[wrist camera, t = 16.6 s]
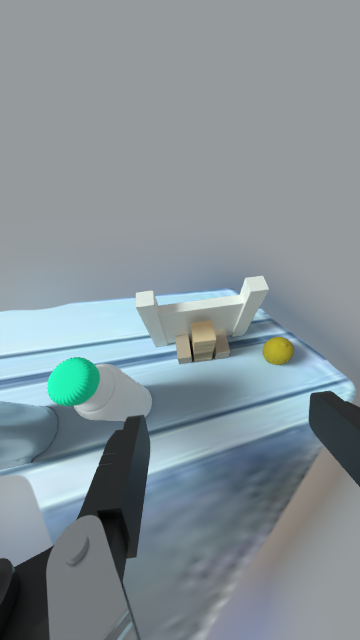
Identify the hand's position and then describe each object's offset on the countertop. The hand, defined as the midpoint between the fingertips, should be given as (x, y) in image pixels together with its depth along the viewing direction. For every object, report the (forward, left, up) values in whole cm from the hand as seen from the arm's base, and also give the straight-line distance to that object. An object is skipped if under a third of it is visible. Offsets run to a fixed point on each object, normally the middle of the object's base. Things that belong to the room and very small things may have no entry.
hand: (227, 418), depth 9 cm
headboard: (+16, +6, -33) cm, 37 cm away
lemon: (+19, -10, -33) cm, 39 cm away
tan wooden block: (+14, +5, -33) cm, 36 cm away
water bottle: (-2, +14, -33) cm, 36 cm away
